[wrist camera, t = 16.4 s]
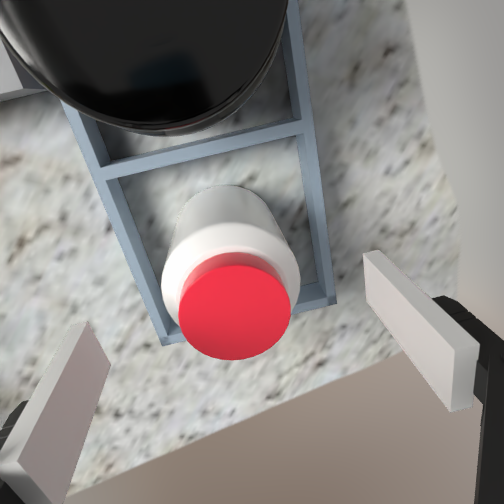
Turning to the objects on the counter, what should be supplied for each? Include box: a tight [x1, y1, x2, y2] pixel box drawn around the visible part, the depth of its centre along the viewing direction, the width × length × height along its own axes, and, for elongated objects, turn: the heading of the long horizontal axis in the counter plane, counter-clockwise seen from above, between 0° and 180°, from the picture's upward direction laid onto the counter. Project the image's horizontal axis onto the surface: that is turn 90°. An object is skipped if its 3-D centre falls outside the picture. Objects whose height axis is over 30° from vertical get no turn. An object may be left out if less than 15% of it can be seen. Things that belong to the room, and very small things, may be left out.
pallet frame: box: [60, 0, 337, 346], centre depth 23 cm, size 27×14×2 cm, turn 12°
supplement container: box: [0, 0, 289, 137], centre depth 15 cm, size 10×10×12 cm
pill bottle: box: [161, 185, 300, 360], centre depth 22 cm, size 8×8×11 cm
